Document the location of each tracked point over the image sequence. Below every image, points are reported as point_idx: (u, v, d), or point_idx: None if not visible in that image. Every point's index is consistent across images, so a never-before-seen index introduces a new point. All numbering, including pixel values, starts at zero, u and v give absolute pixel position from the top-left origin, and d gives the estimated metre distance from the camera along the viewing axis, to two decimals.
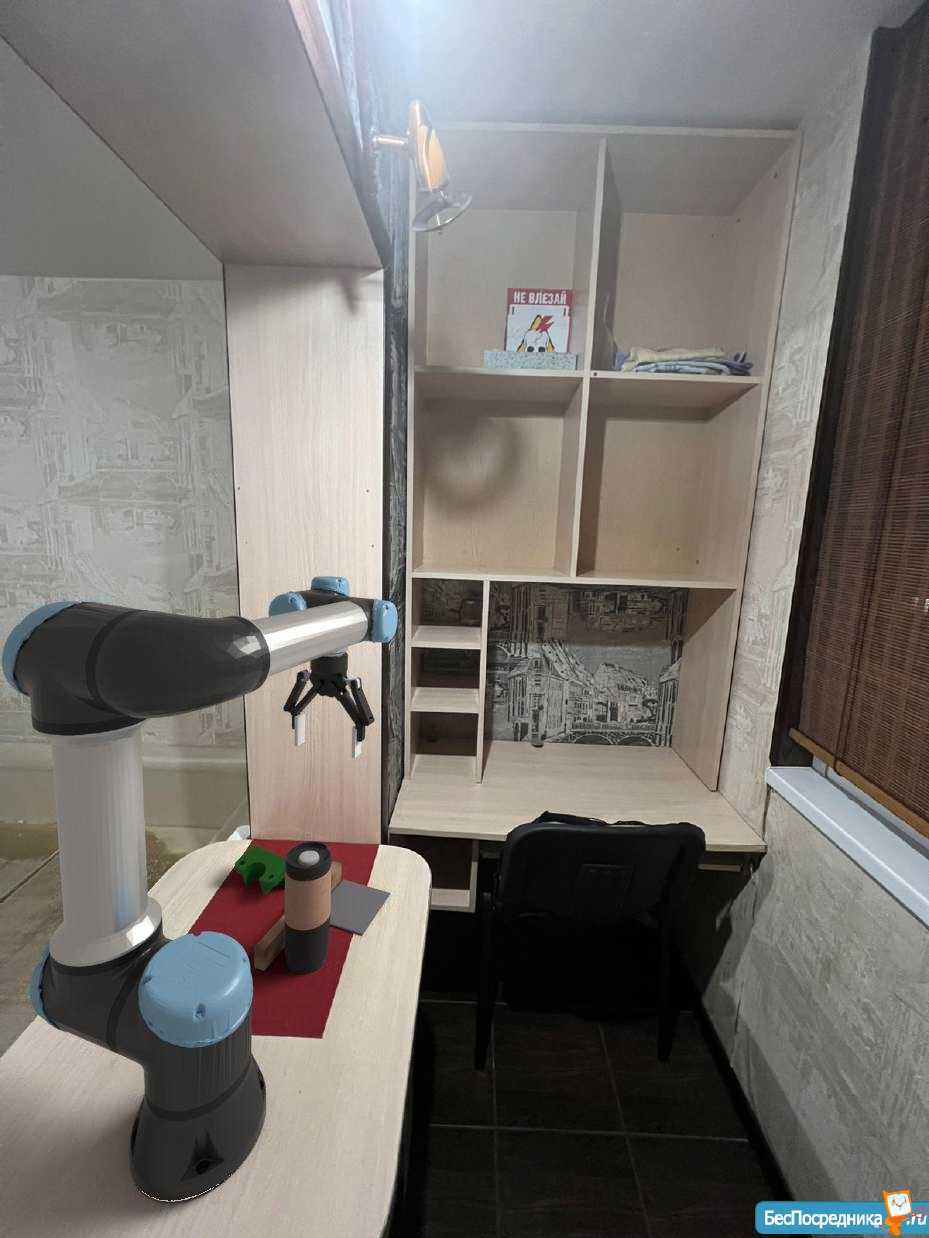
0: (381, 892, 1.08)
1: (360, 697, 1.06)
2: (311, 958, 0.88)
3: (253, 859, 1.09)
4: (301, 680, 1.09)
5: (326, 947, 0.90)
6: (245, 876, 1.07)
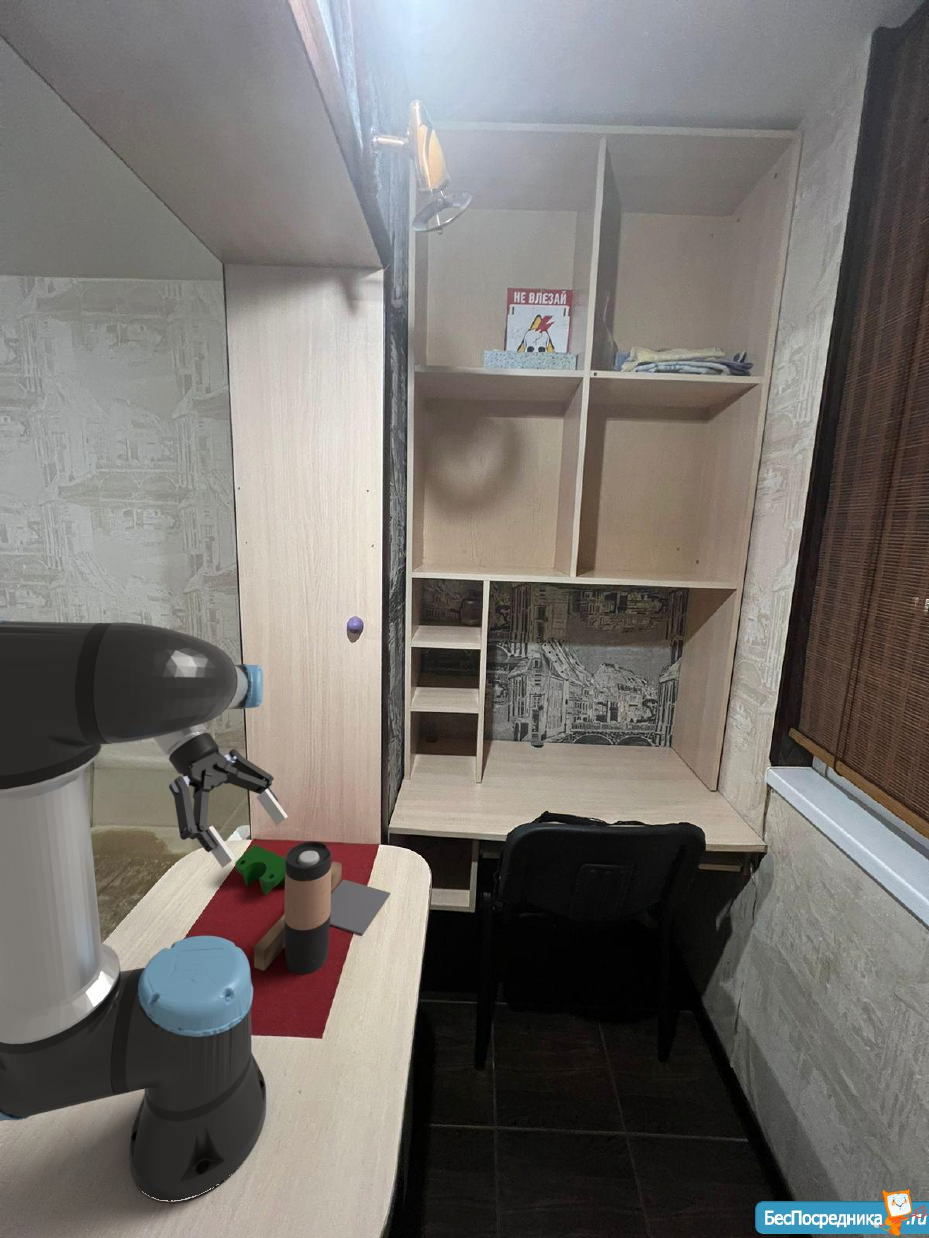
0: (381, 892, 1.08)
1: None
2: (311, 958, 0.88)
3: (254, 859, 1.09)
4: (186, 783, 0.87)
5: (326, 947, 0.90)
6: (245, 876, 1.07)
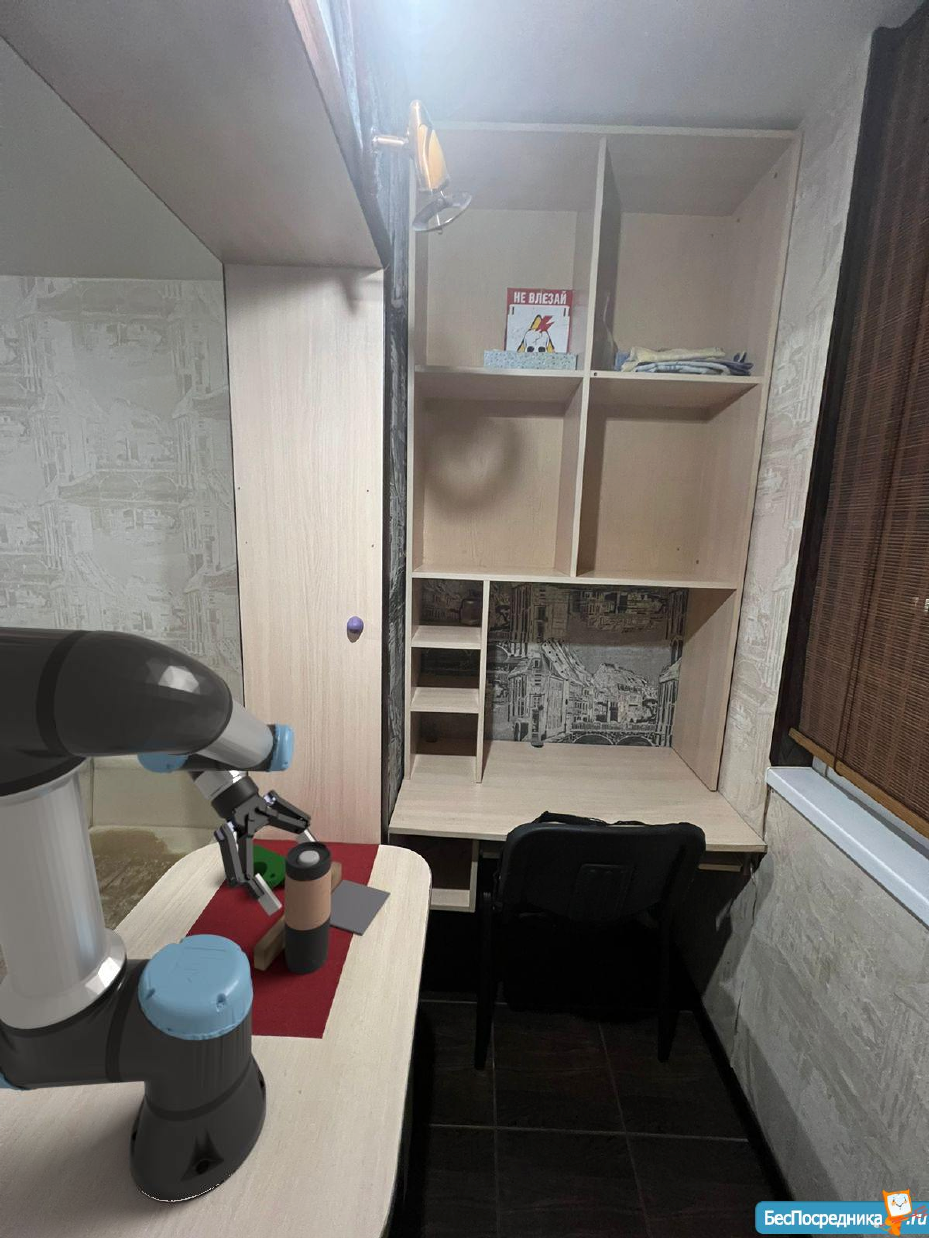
0: (381, 892, 1.08)
1: None
2: (311, 958, 0.88)
3: (255, 858, 1.09)
4: (231, 830, 0.87)
5: (326, 947, 0.90)
6: None
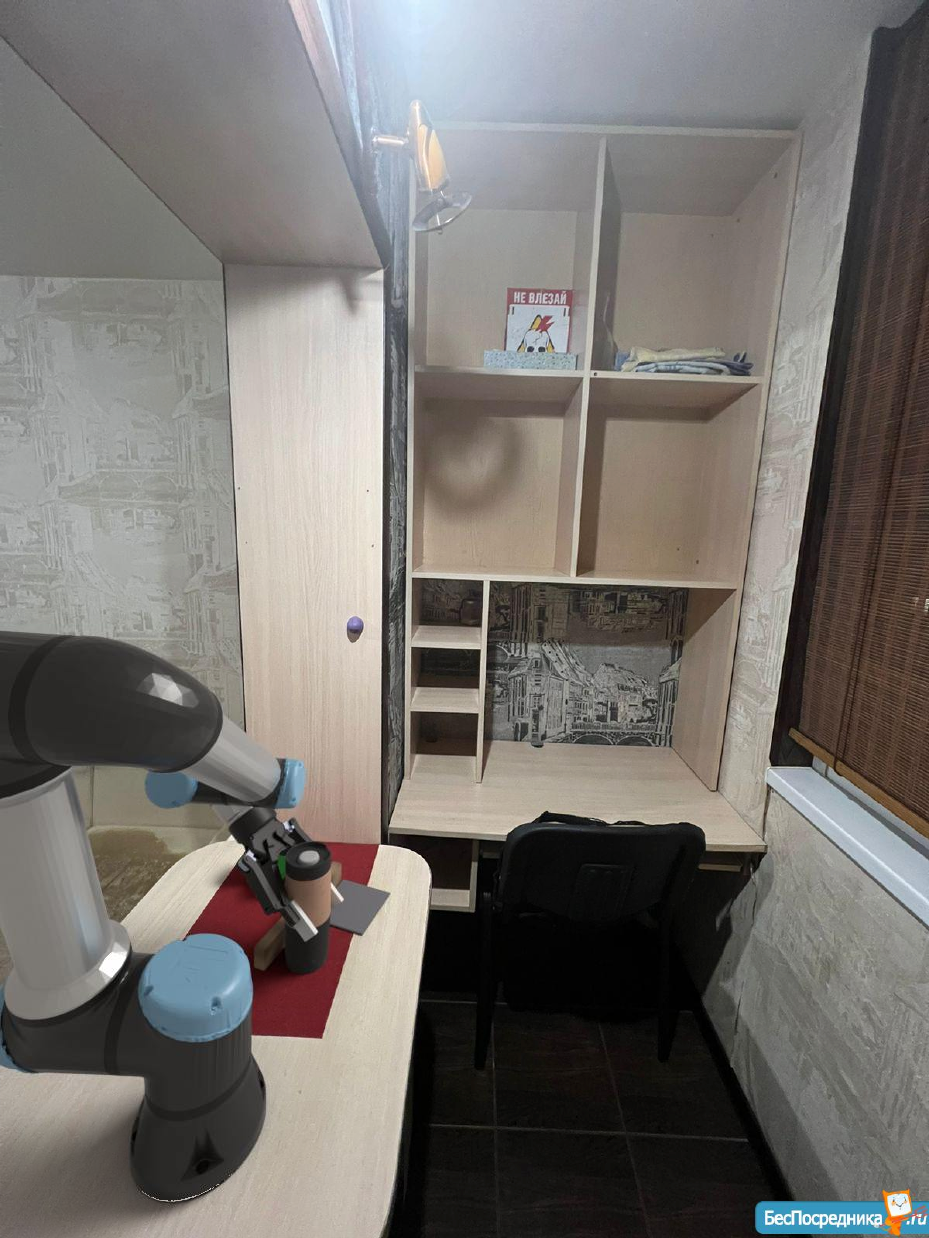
0: (381, 892, 1.08)
1: None
2: (311, 958, 0.88)
3: None
4: (254, 860, 0.85)
5: (326, 947, 0.90)
6: None
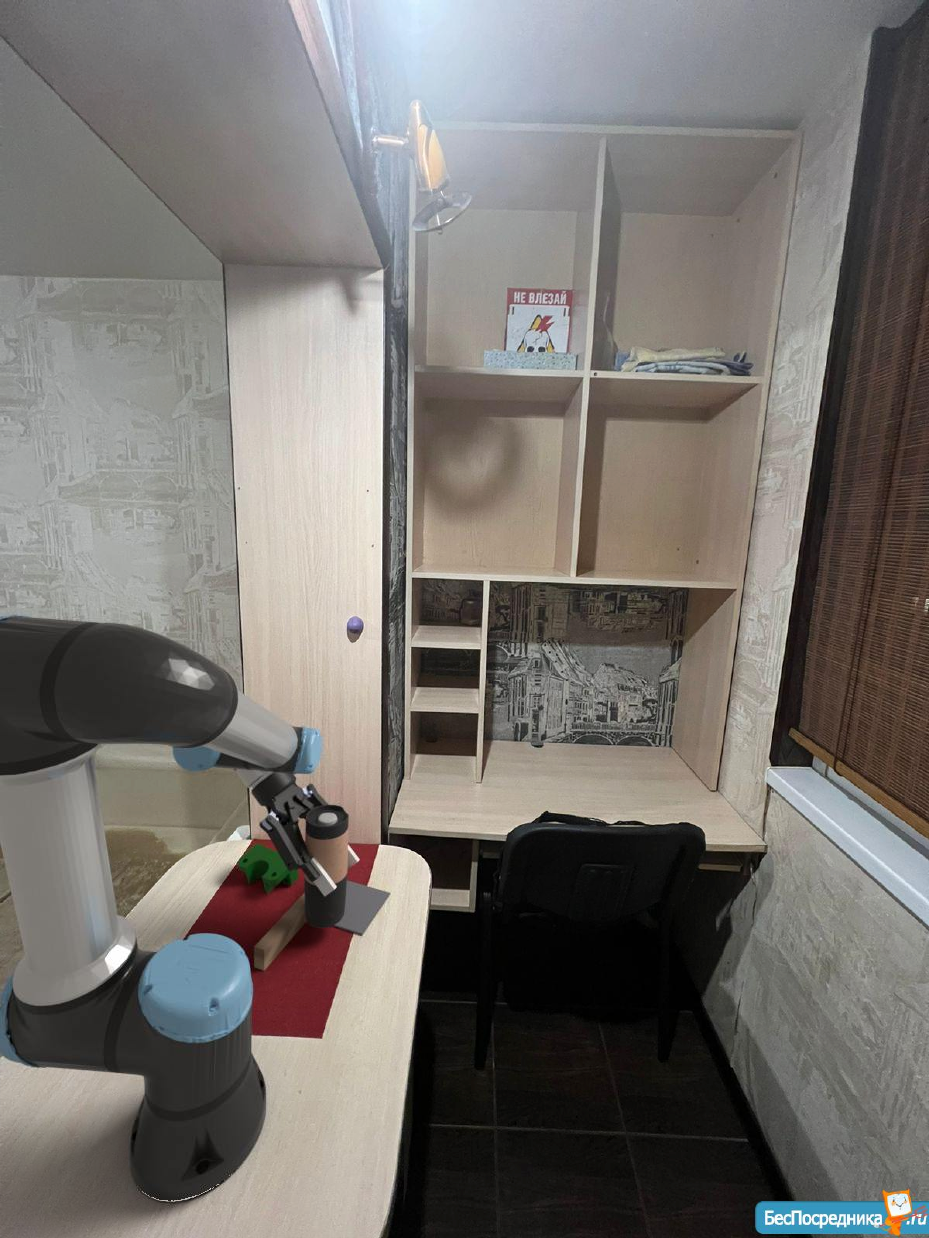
0: (381, 892, 1.08)
1: None
2: (330, 913, 0.93)
3: (256, 857, 1.10)
4: (277, 820, 0.90)
5: (343, 903, 0.96)
6: (248, 874, 1.08)
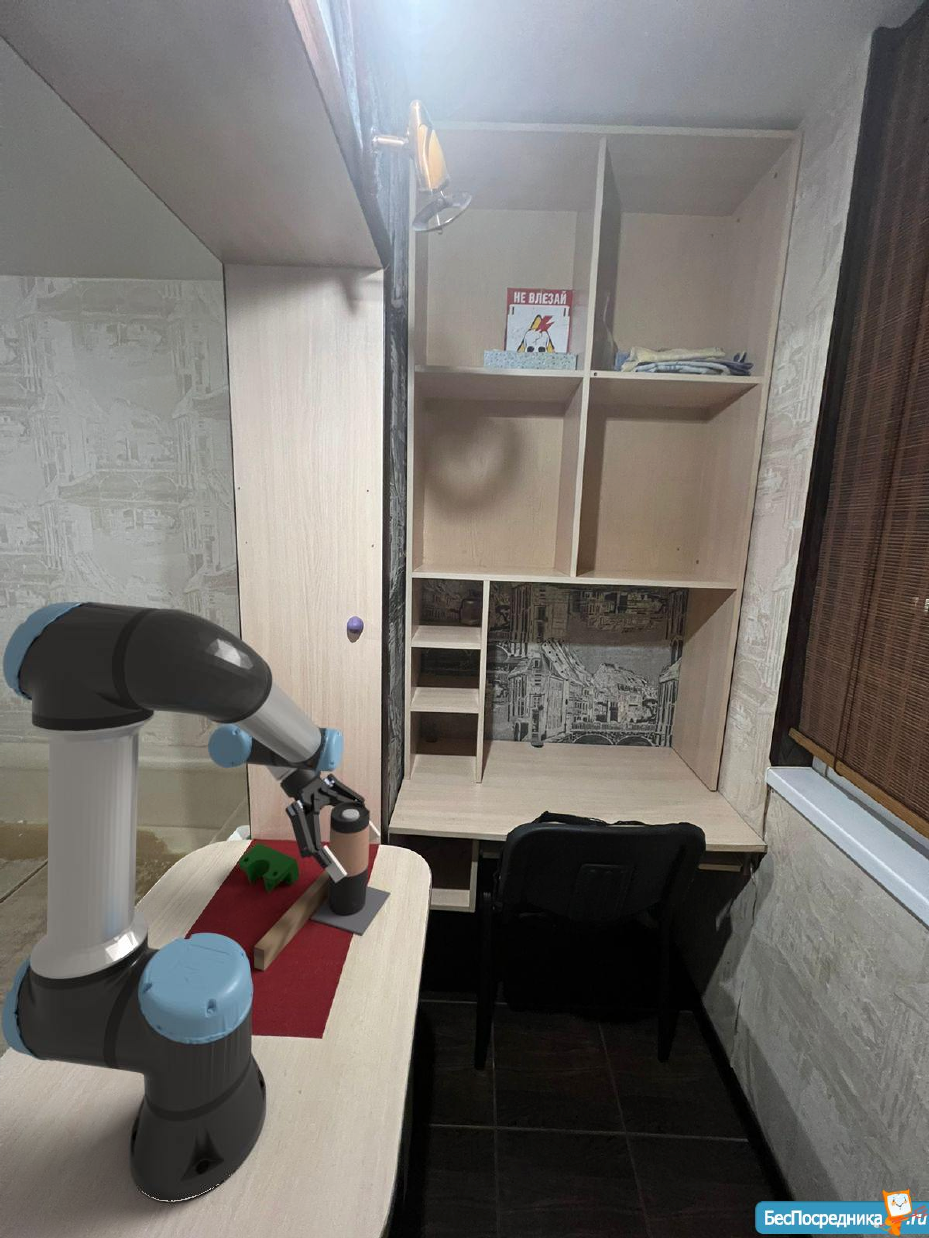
0: (381, 892, 1.08)
1: None
2: (353, 902, 1.01)
3: (257, 857, 1.10)
4: (301, 807, 0.98)
5: (364, 893, 1.03)
6: (249, 873, 1.08)
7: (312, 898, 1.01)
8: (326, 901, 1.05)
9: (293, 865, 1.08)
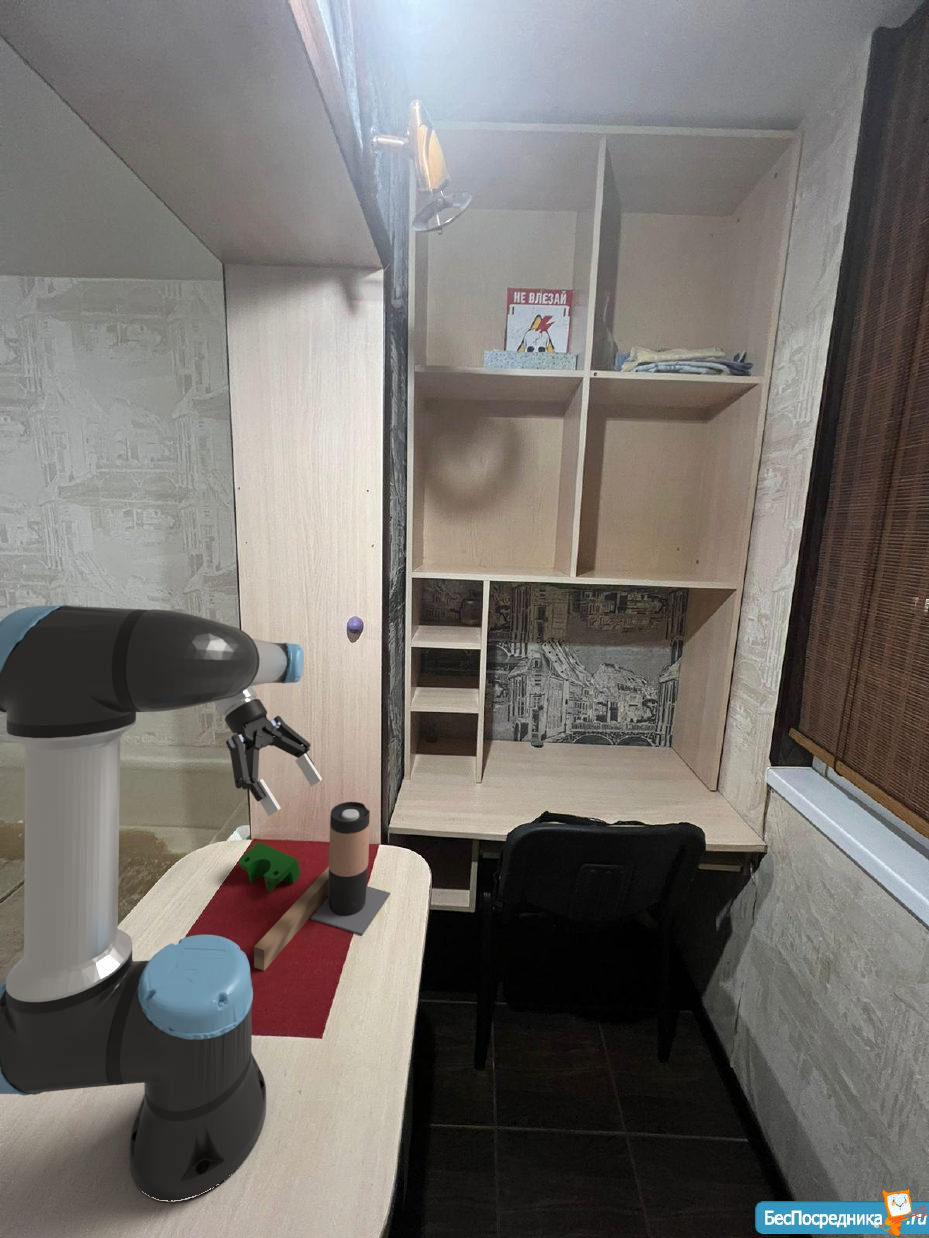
0: (381, 892, 1.08)
1: None
2: (353, 902, 1.01)
3: (258, 856, 1.10)
4: (241, 741, 0.99)
5: (364, 893, 1.03)
6: (250, 873, 1.08)
7: (312, 898, 1.01)
8: (326, 901, 1.05)
9: (294, 865, 1.09)
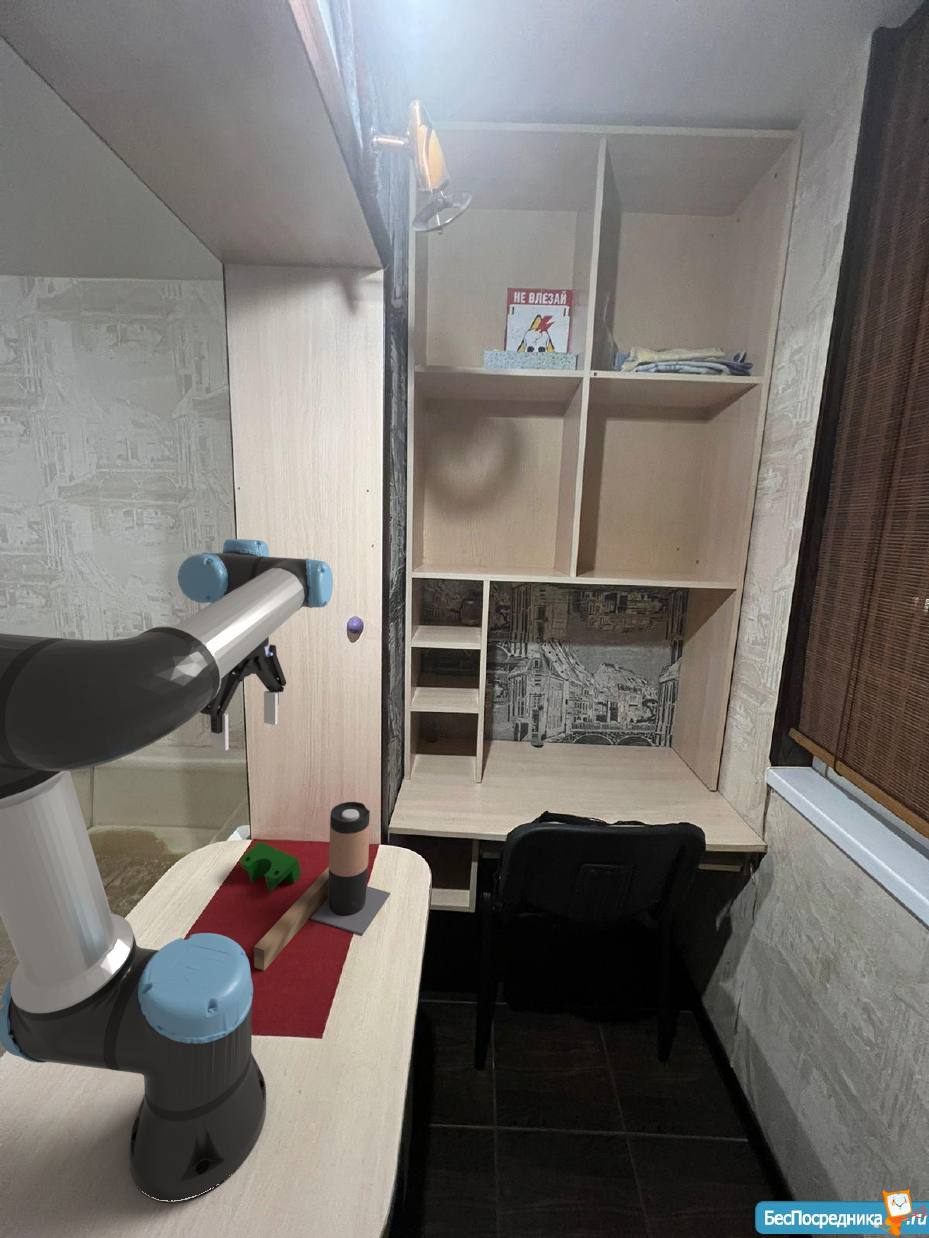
0: (381, 892, 1.08)
1: None
2: (353, 902, 1.01)
3: (259, 856, 1.10)
4: None
5: (364, 893, 1.03)
6: (251, 872, 1.09)
7: (312, 898, 1.01)
8: (326, 901, 1.05)
9: (295, 864, 1.09)
